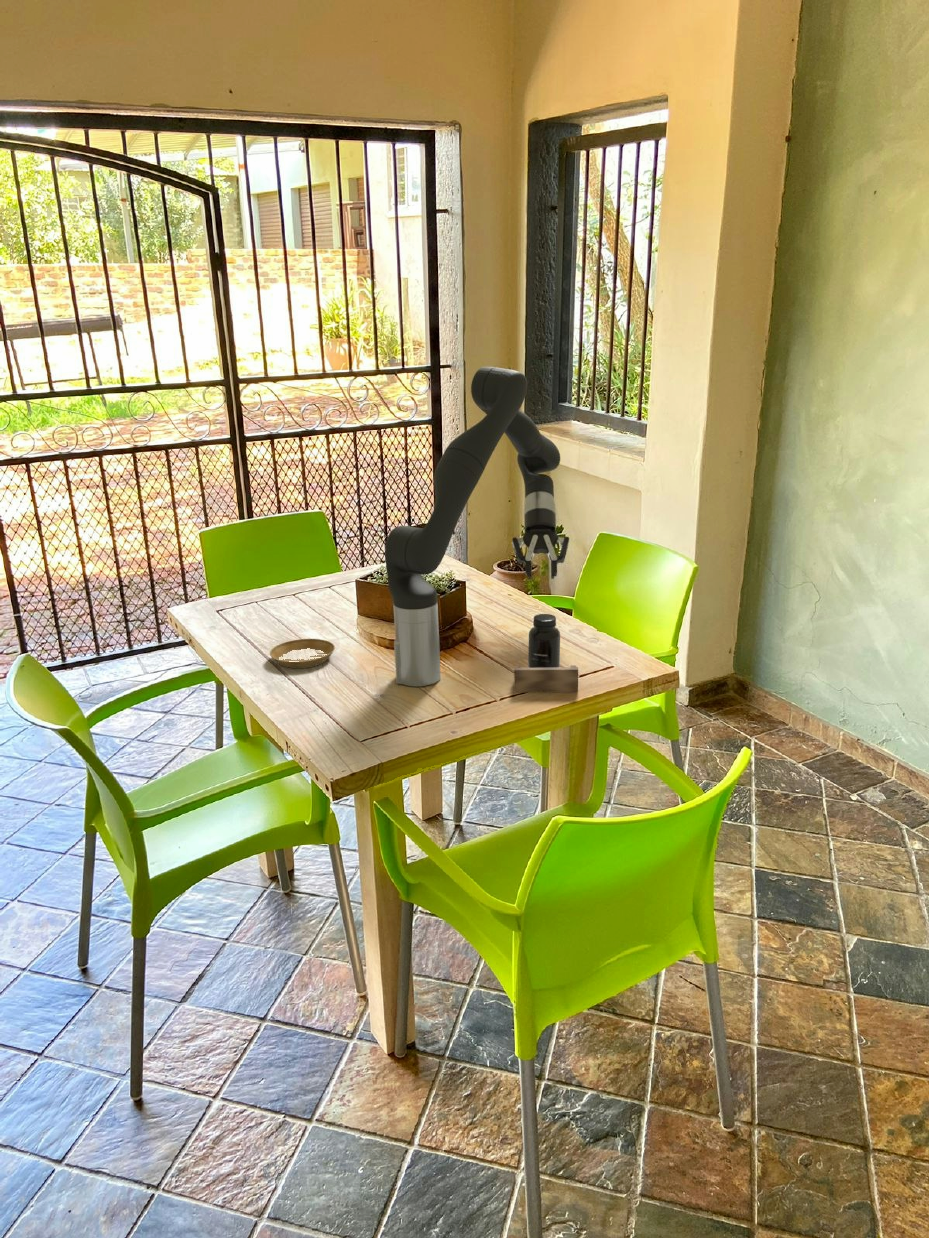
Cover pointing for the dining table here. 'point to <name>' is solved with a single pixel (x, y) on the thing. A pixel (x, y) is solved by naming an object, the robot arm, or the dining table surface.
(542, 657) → the supplement bottle
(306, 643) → the plant saucer
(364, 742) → the dining table surface
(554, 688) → the block
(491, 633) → the dining table surface
